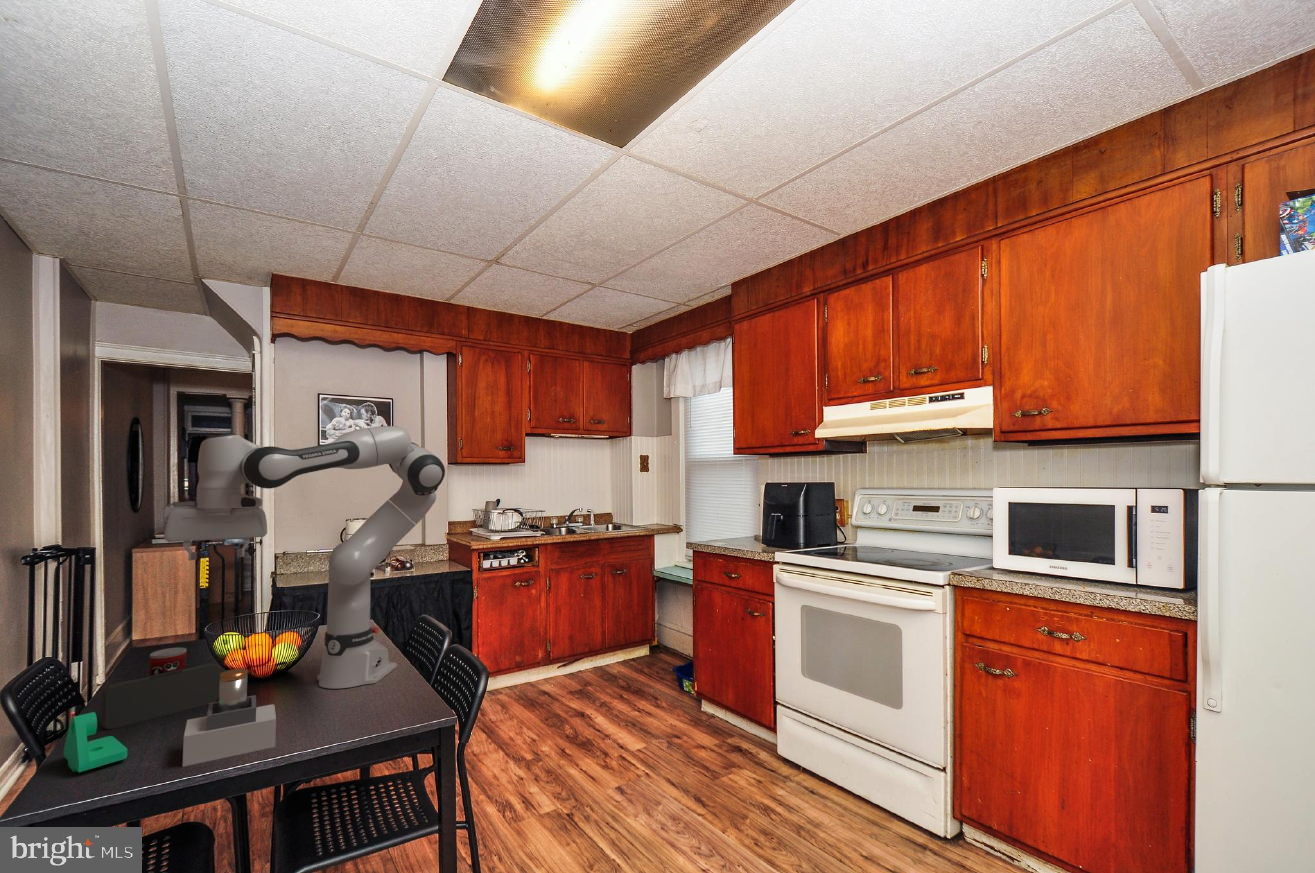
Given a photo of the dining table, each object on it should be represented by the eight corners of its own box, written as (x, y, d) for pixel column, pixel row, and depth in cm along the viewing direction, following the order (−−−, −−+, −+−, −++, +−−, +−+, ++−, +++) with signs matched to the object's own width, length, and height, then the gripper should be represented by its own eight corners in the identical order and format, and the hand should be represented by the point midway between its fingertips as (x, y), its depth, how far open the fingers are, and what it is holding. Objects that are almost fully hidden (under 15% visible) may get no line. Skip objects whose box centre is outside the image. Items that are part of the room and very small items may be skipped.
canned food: (140, 698, 162) (142, 656, 162) (163, 687, 170) (165, 647, 170) (170, 698, 162) (171, 655, 162) (192, 687, 170) (193, 647, 170)
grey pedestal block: (182, 766, 125) (184, 721, 125) (186, 748, 133) (188, 705, 134) (275, 746, 134) (276, 704, 134) (273, 730, 142) (274, 690, 143)
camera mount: (128, 762, 127) (130, 712, 127) (78, 778, 121) (80, 724, 121) (111, 747, 134) (113, 699, 135) (63, 760, 128) (65, 710, 128)
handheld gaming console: (215, 699, 161) (217, 660, 162) (219, 702, 160) (221, 662, 160) (99, 728, 143) (102, 685, 144) (102, 732, 142) (104, 687, 142)
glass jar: (225, 715, 136) (227, 669, 137) (250, 713, 137) (252, 668, 137) (213, 724, 131) (215, 676, 132) (238, 722, 132) (240, 675, 132)
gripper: (162, 502, 140) (160, 563, 140) (268, 500, 152) (266, 556, 151) (165, 501, 146) (163, 560, 145) (267, 498, 157) (265, 553, 156)
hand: (216, 558), depth 148 cm, fingers open, 8 cm apart
